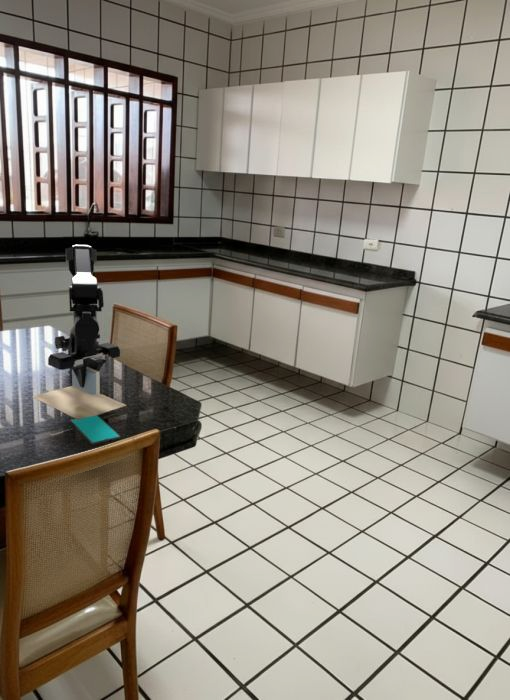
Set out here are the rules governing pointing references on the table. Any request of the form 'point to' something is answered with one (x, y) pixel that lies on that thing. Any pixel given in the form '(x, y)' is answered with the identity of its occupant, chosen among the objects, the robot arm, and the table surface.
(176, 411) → the table surface
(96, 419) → the smartphone
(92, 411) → the mat
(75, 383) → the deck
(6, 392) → the table surface
